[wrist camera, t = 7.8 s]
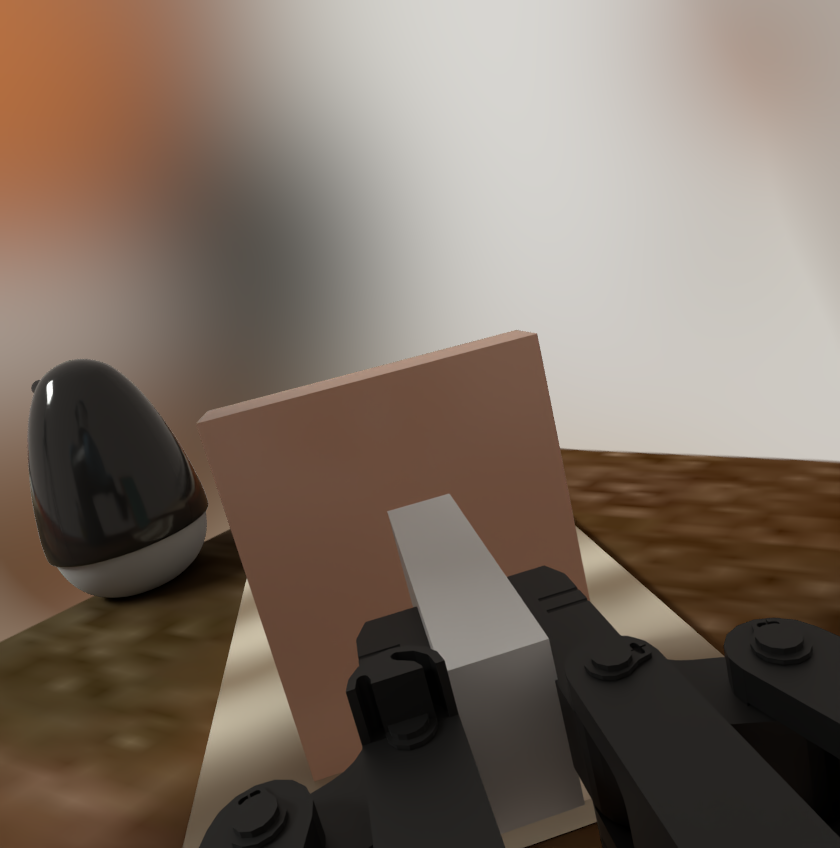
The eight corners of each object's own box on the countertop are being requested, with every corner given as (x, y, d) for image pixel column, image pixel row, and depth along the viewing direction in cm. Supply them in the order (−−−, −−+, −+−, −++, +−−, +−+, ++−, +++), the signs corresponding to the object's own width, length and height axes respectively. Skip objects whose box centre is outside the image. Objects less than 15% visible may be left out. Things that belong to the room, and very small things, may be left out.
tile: (606, 685, 22) (537, 333, 19) (314, 781, 20) (195, 424, 18) (580, 650, 24) (515, 329, 21) (314, 736, 23) (208, 410, 20)
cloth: (805, 748, 18) (802, 724, 18) (168, 973, 16) (158, 949, 16) (540, 505, 40) (537, 493, 39) (250, 590, 38) (246, 578, 37)
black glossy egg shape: (167, 539, 51) (100, 352, 47) (254, 545, 45) (185, 331, 41) (37, 610, 43) (-54, 390, 39) (122, 629, 37) (22, 372, 33)
